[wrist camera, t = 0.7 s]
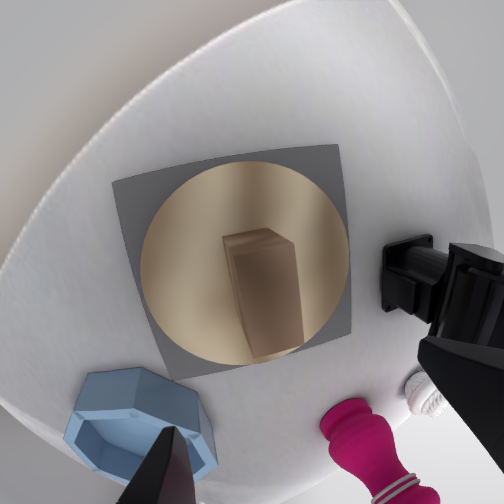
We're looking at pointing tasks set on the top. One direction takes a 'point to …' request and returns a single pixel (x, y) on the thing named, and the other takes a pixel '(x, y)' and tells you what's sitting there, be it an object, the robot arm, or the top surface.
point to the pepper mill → (372, 454)
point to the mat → (170, 179)
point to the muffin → (424, 396)
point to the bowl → (136, 422)
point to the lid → (244, 263)
